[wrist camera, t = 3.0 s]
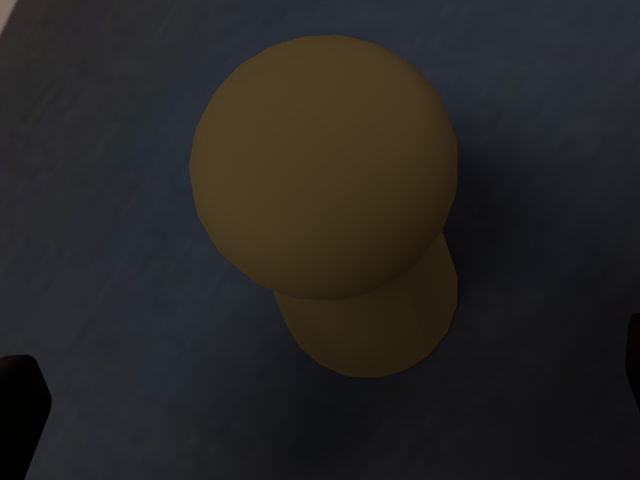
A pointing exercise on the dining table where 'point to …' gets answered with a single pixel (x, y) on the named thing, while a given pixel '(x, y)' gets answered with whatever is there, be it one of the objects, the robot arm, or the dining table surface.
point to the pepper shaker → (335, 197)
